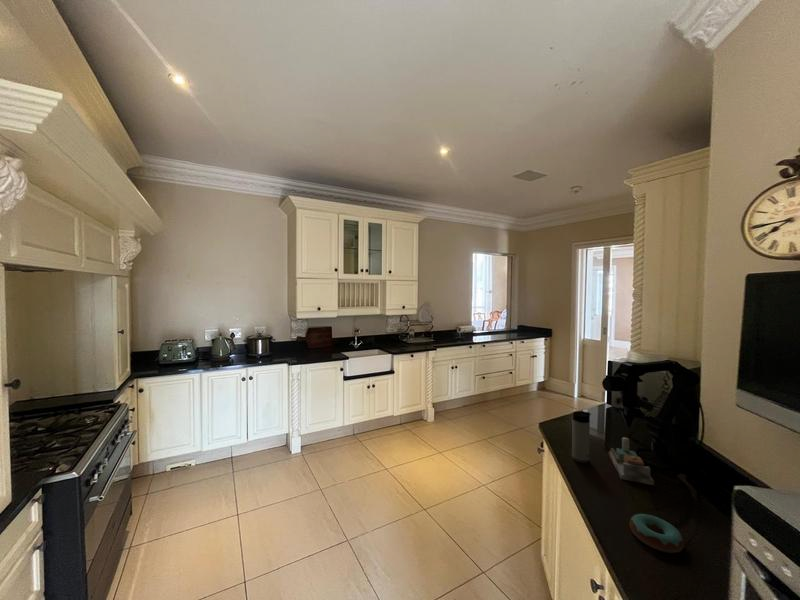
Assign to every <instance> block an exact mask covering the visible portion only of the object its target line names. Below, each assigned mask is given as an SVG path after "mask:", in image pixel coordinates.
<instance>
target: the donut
mask: <svg viewBox="0 0 800 600" xmlns="http://www.w3.org/2000/svg"><path fill="white" fill-rule="evenodd" d="M629 526H630V527H629V528H630V529H631V532H632V533H633V534H634V536H636V538H637V539H638V540H639V541H640V542H642V543H643V544H644V545H647V546H648V547H650V548H652V549H654V550H656V549H657V551H660V552H662V553H668V554H676V553H680V552H682V551H683V549H684V547H685V540H684V539H685V538H684V537H683V535H682V534H681V532H680V531H679V530H678V529H677V528H676V527H675V526H674V525H673V524H671V523H670V522H667V521H665V520H664V519H662V518H660V517H657V516H655V515H652V514H647V513H638V514H637V513H636V514H634V515H633V516H631V517H630V520H629Z"/></svg>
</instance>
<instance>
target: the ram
mask: <svg viewBox="0 0 800 600" xmlns="http://www.w3.org/2000/svg"><path fill="white" fill-rule="evenodd" d="M615 452H616V454H617V455H618V457H619V459H620V461H623V462H624V454H626V455H632V456H638V454H637V453H636V451H634V450H630V438H627V437H621V448H619V447H616V449H615ZM635 453H636V454H637V455H636V454H635Z"/></svg>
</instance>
